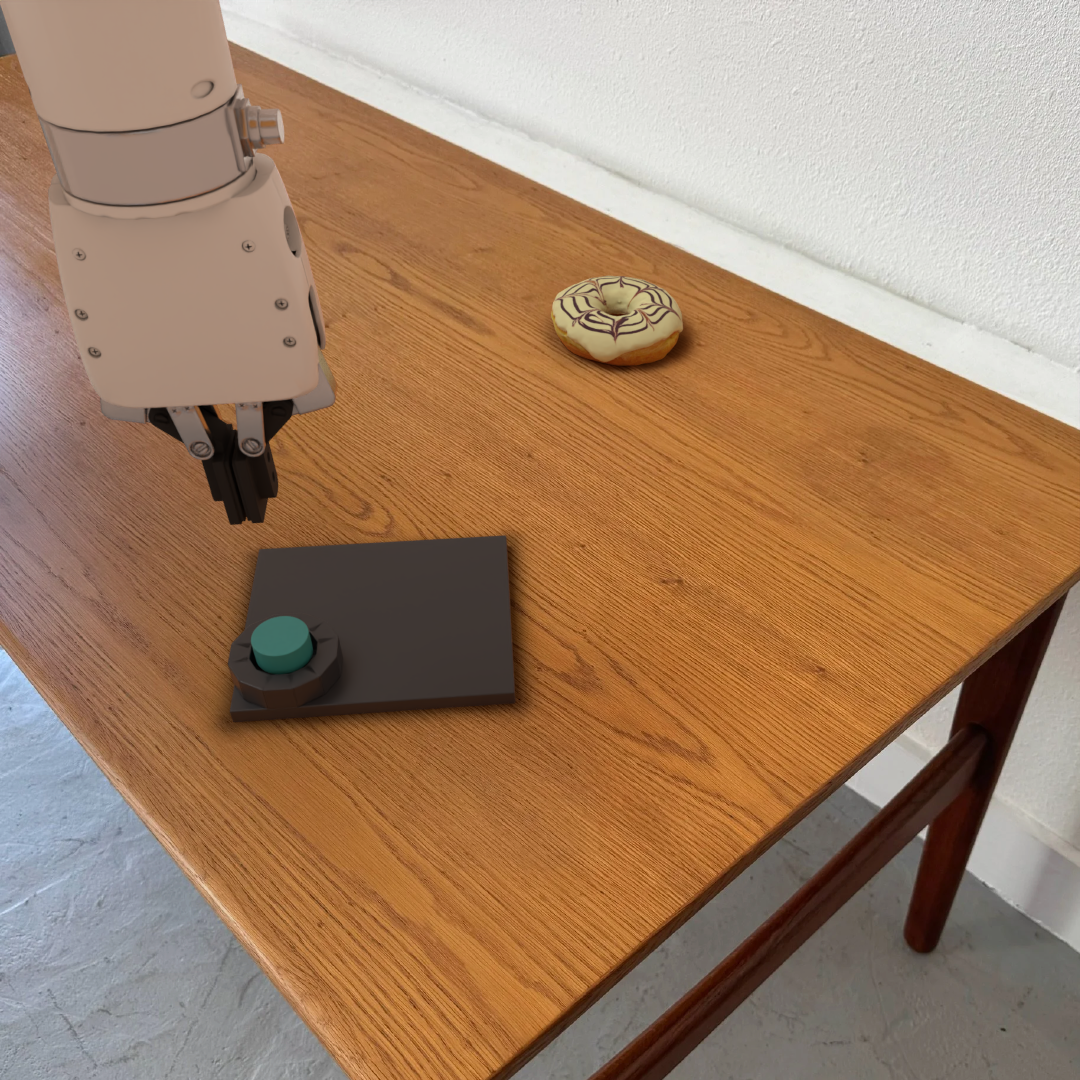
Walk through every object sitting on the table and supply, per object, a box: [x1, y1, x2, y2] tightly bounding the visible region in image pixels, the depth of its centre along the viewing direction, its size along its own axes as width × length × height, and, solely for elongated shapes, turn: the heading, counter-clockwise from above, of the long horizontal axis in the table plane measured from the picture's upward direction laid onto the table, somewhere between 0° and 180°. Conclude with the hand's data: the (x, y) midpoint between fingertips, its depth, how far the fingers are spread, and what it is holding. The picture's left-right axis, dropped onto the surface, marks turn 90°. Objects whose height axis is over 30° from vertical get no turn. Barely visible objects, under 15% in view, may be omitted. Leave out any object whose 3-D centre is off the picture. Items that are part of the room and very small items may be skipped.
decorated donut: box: [550, 275, 684, 367], centre depth 95 cm, size 10×11×4 cm
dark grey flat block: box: [227, 534, 517, 723], centre depth 70 cm, size 16×14×3 cm
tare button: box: [251, 616, 313, 674], centre depth 65 cm, size 3×3×2 cm
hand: (250, 506), depth 58 cm, fingers closed
